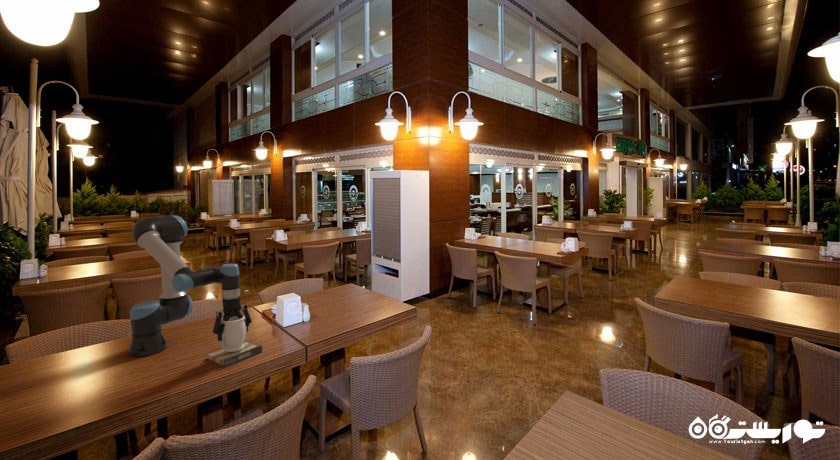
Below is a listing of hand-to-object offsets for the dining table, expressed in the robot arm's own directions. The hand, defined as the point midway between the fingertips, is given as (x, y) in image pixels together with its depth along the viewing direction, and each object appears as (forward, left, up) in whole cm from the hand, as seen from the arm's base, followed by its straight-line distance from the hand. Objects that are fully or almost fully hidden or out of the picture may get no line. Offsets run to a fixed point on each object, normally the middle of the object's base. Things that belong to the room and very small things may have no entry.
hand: (233, 342), depth 175 cm
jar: (0, 0, -3) cm, 3 cm away
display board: (0, 0, -6) cm, 6 cm away
